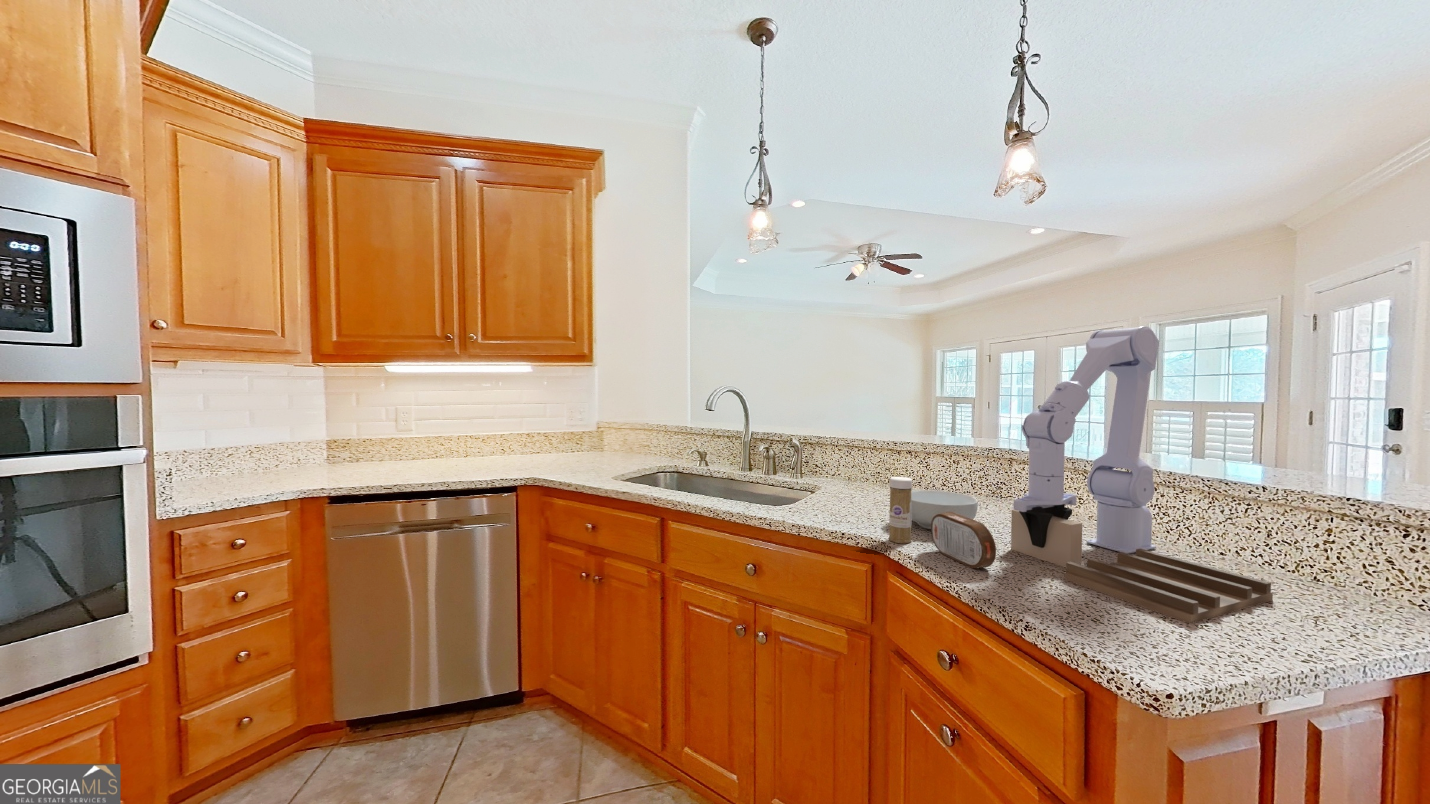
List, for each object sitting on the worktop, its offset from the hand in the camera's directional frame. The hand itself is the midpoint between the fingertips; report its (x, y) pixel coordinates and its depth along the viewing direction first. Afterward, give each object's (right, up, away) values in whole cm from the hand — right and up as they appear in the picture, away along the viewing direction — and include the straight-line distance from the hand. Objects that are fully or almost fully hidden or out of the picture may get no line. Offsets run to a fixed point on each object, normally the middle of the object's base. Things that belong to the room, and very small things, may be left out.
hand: (1044, 545), depth 102 cm
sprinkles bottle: (-24, -2, +11) cm, 26 cm away
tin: (-17, -3, -1) cm, 17 cm away
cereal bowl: (-11, -2, +23) cm, 25 cm away
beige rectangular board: (0, -2, 0) cm, 2 cm away
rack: (+9, -3, -16) cm, 18 cm away
